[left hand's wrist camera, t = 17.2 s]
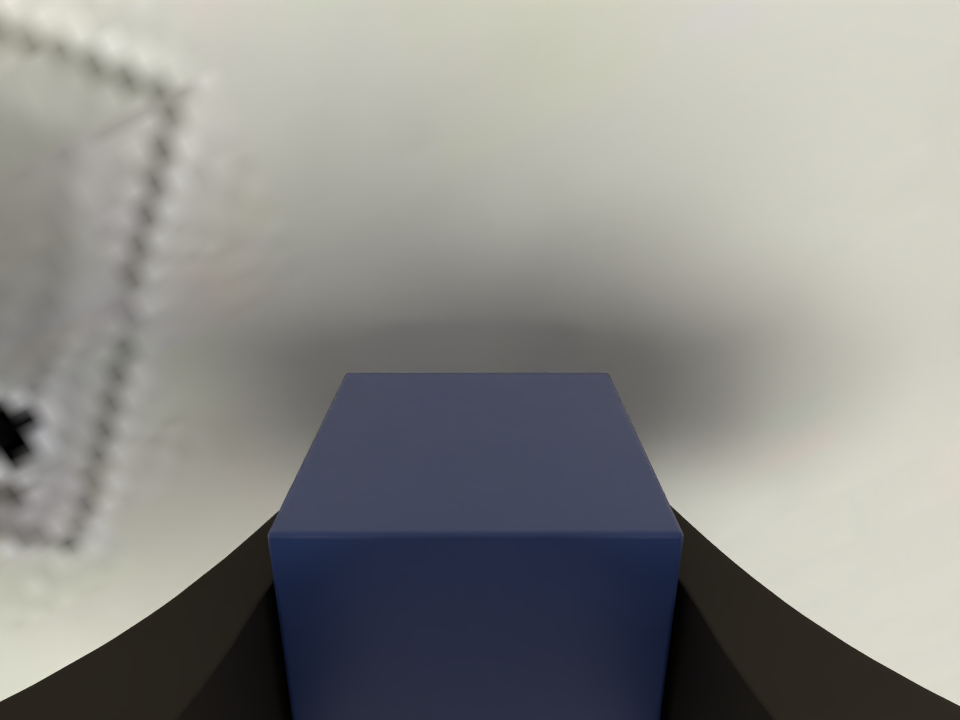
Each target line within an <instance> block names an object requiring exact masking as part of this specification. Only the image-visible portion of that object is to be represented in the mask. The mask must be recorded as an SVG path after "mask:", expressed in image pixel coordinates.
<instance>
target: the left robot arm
mask: <svg viewBox="0 0 960 720" xmlns="http://www.w3.org/2000/svg"><path fill="white" fill-rule="evenodd" d="M670 507H671V506H670ZM671 509H672V511H673V513H674V515H675V517H676V519H677V522H678V524H679V526H680V528H681V530H682V532H683V535H684V536H683V544H682V552H681V560H680V568H679V576H678V584H677V591H676V599H675V607H674V615H673V623H672V631H671V639H670V646H669V654H668V662H667V670H666V678H665V686H664V694H663V701H662V709H661V717H660V720H960V706H959V705H957V704H955V703H953V702H951V701H949V700H947V699H945V698H943V697H941V696H939V695H937V694H935V693H933V692H931V691H929V690H927V689H925V688H923V687H921V686H920V685H918V684H916V683H914V682H913V681H911V680H909V679H907V678H905V677H904V676H902V675H900V674H898V673H896V672H895V671H893V670H891V669H889V668H887V667H886V666H884V665H882V664H880V663H878V662H877V661H875V660H873V659H871V658H870V657H868V656H866V655H865V654H863V653H861V652H860V651H858V650H856V649H855V648H853V647H851V646H850V645H848V644H847V643H845V642H843V641H842V640H840V639H839V638H837V637H836V636H834V635H833V634H831V633H830V632H828V631H827V630H825V629H824V628H822V627H821V626H819V625H817V624H816V623H814V622H813V621H811V620H810V619H808V618H807V617H805V616H804V615H802V614H801V613H800V612H798V611H797V610H795V609H794V608H792V607H791V606H790V605H788V604H787V603H785V602H784V601H783V600H781V599H780V598H779V597H778V596H776V595H775V594H774V593H772V592H771V591H770V590H768V589H767V588H766V587H764V586H763V585H762V584H761V583H759V582H758V581H757V580H755V579H754V578H753V577H751V576H750V575H749V574H748V573H747V572H745V571H744V570H743V569H742V568H740V567H739V566H738V565H737V564H735V563H734V562H733V561H732V560H731V559H730V558H728V557H727V556H726V555H725V554H724V553H722V552H721V551H720V550H719V549H718V548H717V547H716V546H714V545H713V544H712V543H711V542H710V541H709V540H708V539H706V538H705V537H704V536H703V535H702V534H701V533H700V532H699V531H698V530H696V529H695V528H694V527H693V526H692V525H691V524H690V523H689V522H688V521H687V520H685V519H684V518H683V517H682V516H681V515H680V514H679V513H678V512H677V511H676V510H675V509H674V508H672V507H671ZM278 512H279V511H278ZM278 512H277V513H276V514H275V515H274V516H273V517H271V518H270V519H269V520H268V521H267V522H266V523H265V524H264V525H263V526H261V527H260V528H259V529H258V530H257V531H256V532H255V533H254V534H252V535H251V536H250V537H249V538H248V539H247V540H245V541H244V542H243V543H242V544H241V545H240V546H239V547H237V548H236V549H235V550H234V551H233V552H232V553H231V554H229V555H228V556H227V557H226V558H225V559H223V560H222V561H221V562H220V563H218V564H217V565H216V566H214V567H213V568H212V569H211V570H209V571H208V572H207V573H206V574H204V575H203V576H202V577H200V578H199V579H198V580H197V581H195V582H194V583H193V584H191V585H190V586H189V587H188V588H186V589H185V590H184V591H183V592H181V593H180V594H179V595H177V596H176V597H175V598H173V599H172V600H171V601H169V602H168V603H166V604H165V605H164V606H162V607H161V608H159V609H158V610H156V611H155V612H154V613H152V614H151V615H149V616H148V617H146V618H145V619H143V620H142V621H140V622H139V623H137V624H136V625H134V626H133V627H131V628H130V629H128V630H126V631H125V632H123V633H122V634H120V635H119V636H117V637H116V638H114V639H113V640H111V641H109V642H108V643H106V644H104V645H103V646H101V647H99V648H98V649H96V650H94V651H92V652H91V653H89V654H87V655H85V656H84V657H82V658H80V659H78V660H76V661H75V662H73V663H71V664H69V665H68V666H66V667H64V668H62V669H61V670H59V671H57V672H55V673H54V674H52V675H50V676H48V677H46V678H45V679H43V680H41V681H39V682H38V683H36V684H34V685H32V686H30V687H28V688H26V689H25V690H23V691H21V692H19V693H17V694H15V695H13V696H11V697H9V698H7V699H5V700H3V701H1V702H0V720H292V714H291V706H290V699H289V691H288V684H287V676H286V669H285V661H284V654H283V646H282V639H281V631H280V624H279V616H278V609H277V601H276V594H275V586H274V579H273V571H272V564H271V556H270V549H269V541H268V533H269V531H270V529H271V527H272V525H273V523H274V521H275V519H276V516H277V514H278Z"/></svg>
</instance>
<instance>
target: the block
mask: <svg viewBox="0 0 960 720" xmlns="http://www.w3.org/2000/svg"><path fill="white" fill-rule="evenodd" d="M683 536H684V535H683V532H682V530H681V528H680V526H679V524H678V522H677V519H676V517H675V515H674V513H673V511H672V509H671V507H670V504H669V502H668V500H667V498H666V496H665V494H664V492H663V489H662V487H661V485H660V483H659V481H658V479H657V477H656V474H655V472H654V470H653V468H652V466H651V464H650V462H649V459H648V457H647V455H646V453H645V451H644V449H643V447H642V445H641V442H640V440H639V438H638V436H637V434H636V432H635V430H634V427H633V425H632V423H631V421H630V419H629V417H628V415H627V412H626V410H625V408H624V406H623V404H622V402H621V400H620V397H619V395H618V393H617V391H616V389H615V387H614V385H613V382H612V380H611V378H610V376H609V374H607V373H348V374H346V375H345V377H344V379H343V381H342V383H341V385H340V387H339V389H338V391H337V394H336V396H335V398H334V400H333V402H332V404H331V406H330V408H329V410H328V412H327V414H326V416H325V418H324V420H323V422H322V424H321V426H320V428H319V430H318V432H317V435H316V437H315V439H314V441H313V443H312V445H311V447H310V449H309V451H308V453H307V455H306V457H305V459H304V461H303V463H302V465H301V467H300V469H299V471H298V473H297V475H296V478H295V480H294V482H293V484H292V486H291V488H290V490H289V492H288V494H287V496H286V498H285V500H284V502H283V504H282V506H281V508H280V510H279V512H278V514H277V516H276V519H275V521H274V523H273V525H272V527H271V529H270V531H269V533H268V541H269V549H270V556H271V564H272V571H273V579H274V586H275V594H276V601H277V609H278V616H279V624H280V631H281V639H282V646H283V654H284V661H285V669H286V676H287V684H288V691H289V699H290V706H291V714H292V720H660V717H661V709H662V701H663V694H664V686H665V678H666V670H667V662H668V654H669V646H670V639H671V631H672V623H673V615H674V607H675V599H676V591H677V584H678V576H679V568H680V560H681V552H682V544H683Z"/></svg>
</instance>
